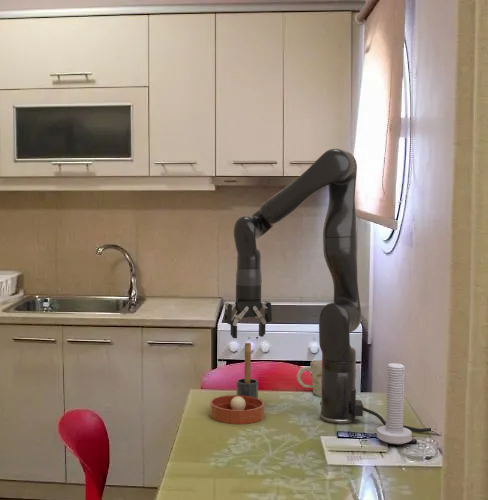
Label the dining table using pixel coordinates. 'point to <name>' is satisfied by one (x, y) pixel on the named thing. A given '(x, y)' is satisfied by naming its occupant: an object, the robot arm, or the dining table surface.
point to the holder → (247, 388)
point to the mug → (313, 376)
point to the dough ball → (238, 403)
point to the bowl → (226, 414)
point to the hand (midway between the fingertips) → (247, 337)
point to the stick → (247, 363)
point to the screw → (395, 408)
